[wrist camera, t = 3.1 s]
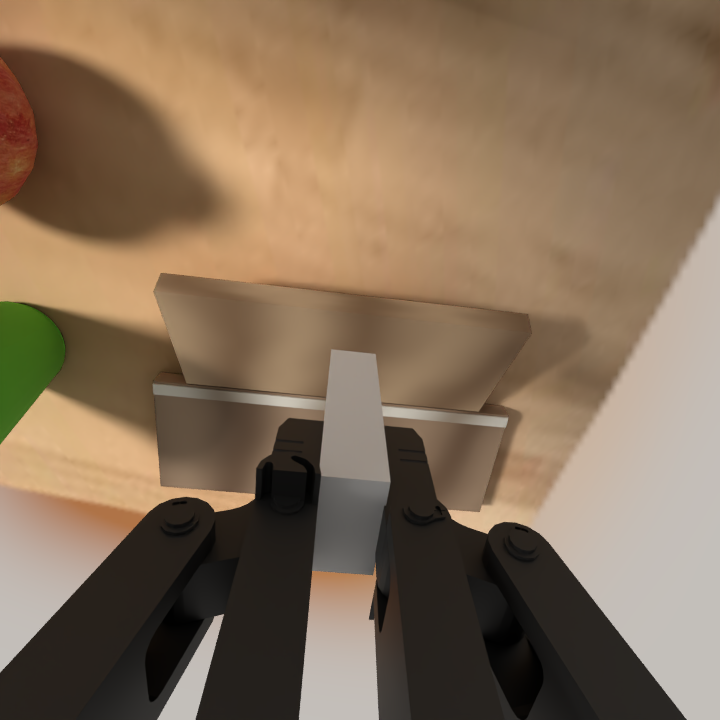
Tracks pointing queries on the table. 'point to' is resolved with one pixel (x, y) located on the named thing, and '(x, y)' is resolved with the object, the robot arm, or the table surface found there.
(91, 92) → the table surface
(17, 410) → the cup
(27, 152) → the fruit
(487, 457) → the floorboard
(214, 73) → the table surface
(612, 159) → the table surface
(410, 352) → the plank
